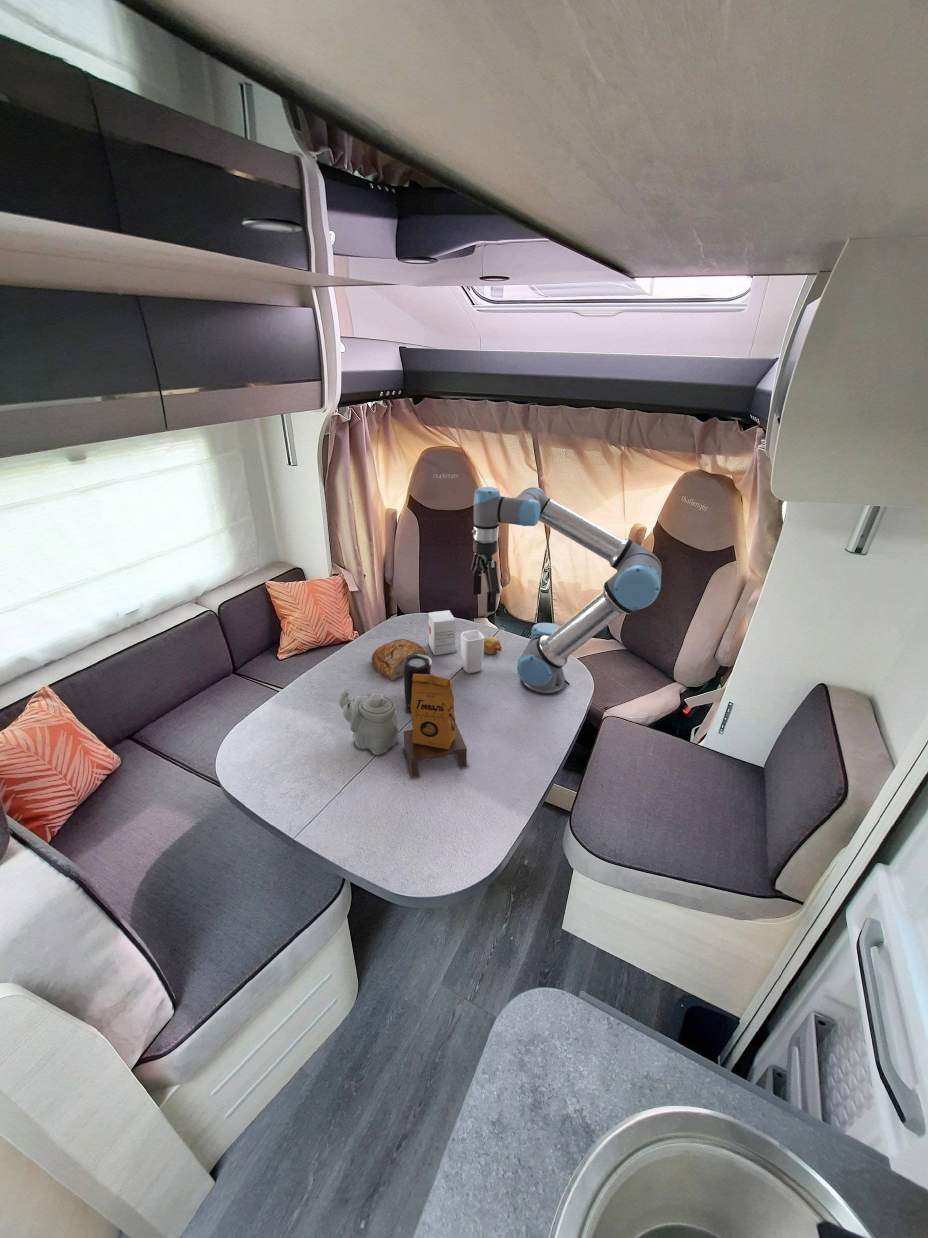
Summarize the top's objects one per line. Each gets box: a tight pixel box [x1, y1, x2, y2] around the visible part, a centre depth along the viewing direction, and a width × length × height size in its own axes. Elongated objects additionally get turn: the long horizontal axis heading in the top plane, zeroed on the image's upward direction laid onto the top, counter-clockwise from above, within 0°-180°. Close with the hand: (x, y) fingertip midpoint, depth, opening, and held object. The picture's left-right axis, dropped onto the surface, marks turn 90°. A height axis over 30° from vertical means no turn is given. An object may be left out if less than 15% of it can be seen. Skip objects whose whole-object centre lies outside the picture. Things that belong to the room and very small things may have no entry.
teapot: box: [338, 688, 399, 756], centre depth 152 cm, size 16×15×19 cm
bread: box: [371, 638, 429, 681], centre depth 193 cm, size 20×18×10 cm
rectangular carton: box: [427, 609, 457, 656], centre depth 203 cm, size 9×9×15 cm
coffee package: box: [410, 673, 457, 749], centre depth 142 cm, size 10×12×22 cm
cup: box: [460, 629, 485, 674], centre depth 189 cm, size 7×7×15 cm
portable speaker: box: [403, 655, 430, 715], centre depth 166 cm, size 9×9×20 cm
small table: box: [402, 723, 468, 778], centre depth 149 cm, size 16×12×7 cm
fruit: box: [483, 636, 503, 655], centre depth 203 cm, size 7×7×10 cm
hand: (483, 602), depth 165 cm, fingers open, 13 cm apart
